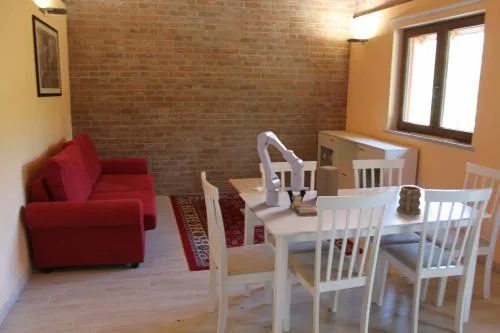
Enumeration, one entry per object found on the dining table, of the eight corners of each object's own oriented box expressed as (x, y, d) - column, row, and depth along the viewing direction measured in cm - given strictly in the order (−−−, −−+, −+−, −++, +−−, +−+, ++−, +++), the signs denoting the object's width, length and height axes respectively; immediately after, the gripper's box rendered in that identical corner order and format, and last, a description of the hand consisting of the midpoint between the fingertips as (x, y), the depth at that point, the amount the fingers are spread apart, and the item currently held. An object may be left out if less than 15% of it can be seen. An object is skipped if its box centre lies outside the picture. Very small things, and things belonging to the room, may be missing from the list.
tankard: (399, 207, 270) (401, 182, 267) (421, 210, 264) (423, 185, 261) (393, 215, 252) (395, 190, 249) (416, 219, 246) (419, 193, 243)
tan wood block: (290, 206, 264) (291, 194, 262) (298, 206, 265) (299, 194, 263) (292, 209, 259) (293, 196, 258) (300, 209, 260) (301, 196, 258)
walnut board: (290, 204, 270) (290, 201, 269) (306, 204, 271) (306, 201, 271) (299, 215, 249) (300, 212, 248) (317, 215, 250) (317, 211, 250)
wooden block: (315, 197, 287) (317, 166, 283) (326, 195, 293) (328, 165, 289) (327, 200, 280) (328, 169, 276) (338, 198, 285) (340, 167, 281)
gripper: (286, 182, 254) (285, 205, 256) (310, 181, 256) (309, 204, 258) (283, 179, 260) (282, 201, 263) (307, 178, 263) (306, 201, 265)
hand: (295, 202), depth 261 cm, fingers closed on tan wood block, 5 cm apart
